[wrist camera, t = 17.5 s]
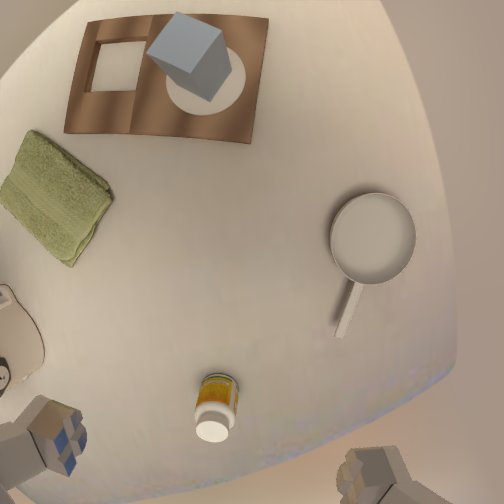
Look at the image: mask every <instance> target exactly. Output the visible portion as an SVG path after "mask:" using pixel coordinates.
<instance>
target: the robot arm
mask: <svg viewBox="0 0 504 504" xmlns="http://www.w3.org/2000/svg"><path fill="white" fill-rule="evenodd" d="M43 359H44V349H43V343H42V340H41V337H40V334H39V332H38V330H37V328H36V326H35V324H34V322H33V321H32V319H31V318H30V316H29V315H28V314H27V313H26V311H25V310H24V309H23V308H22V307H21V306H20V305H19V304H18V302H17V301H16V299H15V297H14V295H13V293H12V291H11V290H10V288H9V287H8V286H7V285H0V397H1V396H2V395H3V393H5V392H6V391H7V390H9V389H10V388H11V387H13V386H14V385H15V384H17V383H18V382H19V381H20V380H23V381H24V380H26V379H27V378H28V377H29V375H30V373H31V372H33V371H35V370H37V369H38V368H39V367H40V366H41V365H42V363H43ZM82 419H83V417H82V414H81V411H79V410H77V409H75V408H72V407H69V406H67V405H64V404H62V403H59V402H57V401H54V400H52V399H49V398H47V397H44V396H42V395H38V396H36V397H35V398H34V399H33V400H32V402H31V403H30V404H29V405H28V406H27V407H26V409H25V410H24V411H23V412H22V413H21V415H20V416H19V417H18V418H17V419H16V420H15V422H14V423H12V422H7V423H4V424H1V425H0V504H15V502H14V501H13V499H12V498H11V496H10V495H9V494H8V492H7V491H8V490H10V489H11V488H14V487H15V486H17V485H19V484H21V483H23V482H25V481H27V480H28V479H30V478H32V477H34V476H36V475H38V474H39V473H41V472H43V471H45V470H46V468H48V469H50V470H52V471H55V472H57V473H60V474H62V475H65V476H67V477H69V476H70V474H71V473H72V471H73V469H74V467H75V465H76V464H77V463H76V459H75V457H76V456H78V455H80V454H82V452H83V451H84V449H85V446H86V442H87V432H86V428H85V427H84V426H83V425H82V424H81V421H82ZM345 457H346V462H344V463H343V464H341V465H340V467H339V469H338V472H337V478H336V482H337V489H338V491H339V492H340V493H341V494H342V495H343V498H342V499H341V501H340V503H341V504H452V503H450V502H448V501H447V500H445V499H444V498H442V497H441V496H439V495H437V494H436V493H434V492H433V491H431V490H430V489H428V488H427V487H425V486H424V485H422V484H421V483H419V482H418V481H412V479H411V477H410V474H409V472H408V470H407V468H406V465H405V463H404V461H403V459H402V456H401V455H400V452H399V450H398V448H397V447H396V446H383V447H369V448H355V449H350V450H349V451H348V452H347V454H346V456H345Z"/></svg>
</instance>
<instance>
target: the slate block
mask: <svg viewBox="0 0 504 504" xmlns="http://www.w3.org/2000/svg"><path fill="white" fill-rule="evenodd" d="M146 54H147V55H148V56H149V57H150V58H151V59H152V60H153V61H154V62H155V63H156V64H157V65H158V66H159V67H160V68H161V69H162V70H163V71H164V72H165V73H166V74H167V75H168V76H169V77H170V78H171V79H172V80H173V81H174V82H175V83H176V85H178V86H180V87H182V88H184V89H185V90H187V91H189V92H191V93H193V94H195V95H197V96H199V97H201V98H203V99H204V100H206V101H208V102H211V101H212V99H213V98H214V96H215V95H216V93H217V92H218V90H219V89H220V87H221V86H222V85H223V83H224V82H225V80H226V79H227V77H228V76H229V75H230V73H231V72H232V67H231V63H230V59H229V55H228V52H227V48H226V44H225V40H224V36H223V32H222V30H220V29H218V28H215V27H213V26H211V25H209V24H206V23H204V22H202V21H199V20H197V19H194V18H192V17H189V16H187V15H184V14H182V13H179V12H176V13H175V15H174V16H173V17H172V18H171V20H170V21H169V22H168V23H167V25H166V26H165V27H164V29H163V30H162V31H161V33H160V34H159V35H158V37H157V38H156V39H155V41H154V42H153V43H152V45H151V46H150V48H149V49H148V50H147V52H146Z"/></svg>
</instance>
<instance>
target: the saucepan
mask: <svg viewBox="0 0 504 504" xmlns="http://www.w3.org/2000/svg"><path fill="white" fill-rule="evenodd" d="M416 240H417V232H416V226H415V222H414V219H413V216H412V215H411V213H410V211H409V209H408V208H407V207H406V206H405V205H404V204H403V203H402V202H401V201H400V200H398V199H397V198H395V197H393V196H391V195H387V194H384V193H368V194H363V195H360V196H357V197H355V198H353V199H351V200H350V201H348V202H347V203H346V204H345V205H344V206H343V207H342V208H341V209H340V210H339V212H338V213H337V215H336V216H335V218H334V221H333V223H332V226H331V230H330V249H331V252H332V256H333V258H334V260H335V263H336V264H337V266H338V268H339V269H340V270H341V272H342V273H343V274H344V275H345V276H346V277H347V278H349V279H351V280H352V281H354V284H353V287H352V290H351V293H350V295H349V298H348V301H347V303H346V306H345V309H344V311H343V314H342V316H341V319H340V321H339V324H338V326H337V329H336V331H335V337H336V338H338V339H342V338H343V337H344V336H345V333H346V331H347V328H348V326H349V323H350V321H351V318H352V316H353V313H354V311H355V308H356V306H357V303H358V301H359V298H360V295H361V293H362V290H363V287H364V285H379V284H383V283H386V282H389V281H390V280H392V279H394V278H396V277H397V276H398V275H399V274H400V273H402V271H403V270H404V269H405V268H406V267H407V265H408V264H409V262H410V261H411V258H412V256H413V254H414V251H415V247H416Z"/></svg>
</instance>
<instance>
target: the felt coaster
mask: <svg viewBox="0 0 504 504" xmlns="http://www.w3.org/2000/svg"><path fill="white" fill-rule="evenodd" d="M226 48H227V52H228V55H229V59H230V63H231V67H232V72H231V73H230V75H229V76H228V77H227V79H226V80H225V82H224V83H223V85H222V86H221V87H220V89H219V90H218V92H217V93H216V95H215V96H214V98H213V99H212V101H211V102H208V101H206V100H204V99H203V98H201V97H199V96H197V95H195V94H193V93H191V92H189V91H187V90H185V89H184V88H182V87H180V86H178V85H176V83H175V82H174V81H173V80H172V79H171V78H170V77H169V76H168V75H167V77H166V87H167V92H168V94H169V96H170V98H171V100H172V101H173V103H174V104H175V105H176V106H178V107H179V108H180V109H181V110H183V111H185V112H187V113H189V114H193V115H198V116H208V115H213V114H217V113H220V112H222V111H224V110H226V109H227V108H229V107H230V106H231V105H233V104H234V103H235V102H236V101H237V100H238V98H239V97H240V95H241V93H242V92H243V89H244V86H245V80H246V74H245V68H244V65H243V62H242V61H241V59H240V58H239V56H238V55H237V54H236V53H235V52H234V51H232V50H231V49H230V48H228V47H226Z"/></svg>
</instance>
